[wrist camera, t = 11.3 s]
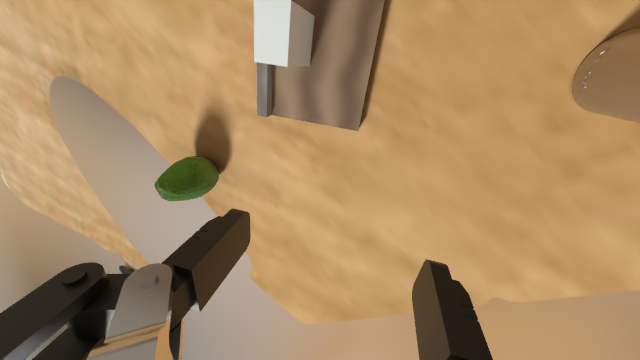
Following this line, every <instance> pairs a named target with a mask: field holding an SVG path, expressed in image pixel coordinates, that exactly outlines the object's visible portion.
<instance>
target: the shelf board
mask: <svg viewBox="0 0 640 360" xmlns="http://www.w3.org/2000/svg"><path fill="white" fill-rule="evenodd" d="M292 1H293V2H295V3H296V4H298V5H299V6H301V7H302V8H303V9H305V10H306V11H308V12H309V13H311V14H312V15H314V16H315V17H314V28H313V38H312V48H311V59H310V66H301V67H284V66H278V65H272V64H265V63H259V62H257V69H256V92H257V115H259V116H264V117H268V116H270V115H275V116H280V117H286V118H291V119H296V120H302V121H307V122H312V123H318V124H323V125H329V126H334V127H339V128H345V129H350V130H355V131H358V130H359V126H360V122H361V117H362V112H363V107H364V102H365V97H366V92H367V87H368V82H369V78H370V73H371V68H372V63H373V58H374V53H375V48H376V43H377V38H378V34H379V29H380V24H381V19H382V14H383V9H384V4H385V0H292Z"/></svg>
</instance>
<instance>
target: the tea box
mask: <svg viewBox="0 0 640 360" xmlns="http://www.w3.org/2000/svg"><path fill="white" fill-rule="evenodd" d="M314 17H315V16H314V15H312V14H311V13H309V12H308V11H306V10H305V9H303V8H302V7H301V6H299V5H298V4H296V3H295V2H293V1H292V0H254V62H259V63H265V64H272V65H278V66H284V67H301V66H310V59H311V48H312V38H313V28H314Z"/></svg>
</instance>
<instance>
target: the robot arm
mask: <svg viewBox="0 0 640 360" xmlns="http://www.w3.org/2000/svg"><path fill="white" fill-rule="evenodd" d="M572 86H573V95H574V98H575V100H576V102H577V103H578V104H579V105H580V106H581V107H583V108H584V109H586V110H588V111H591V112H594V113H598V114H603V115H607V116H611V117H616V118H619V119H624V120H628V121H632V122H637V123H640V28H636V29H632V30H629V31H625V32H623V33H620V34H618V35H616V36H613V37H612V38H610V39H608V40H607V41H605V42H603V43H602V44H601V45H599V46H598V47H597V48H596V49H594V50H593V51H592V52H591V53H590V54H589V55H588V56H587V57H586V58H585V59H584V61H583V62H582V64H581V65H580V67H579V68H578V70H577V72H576V74H575V77H574V81H573V85H572ZM249 242H250V214H249V213H248V212H245V211H242V210H238V209H231V210H230V211H229V212H228V213H227V214H226V215H224V216H223V217H220V216H218V217H216V218H214V219H212V220H210V221H208V222H207V223H206V224H205V225H204V226H202V227H201V228H200V230H199V231H197V232H196V233H195V234H194V235H193V236H192V237H190V238H189V239H188V240H187V241H186V242H185V243H184V244H182V245H181V246H180V247H179V248H178V249H177V250H176V251H175V252H173V253H172V254H171V255H170V256H169V257H168V258H167V259H166V260H165V261H163V262H162V263H161V264H160V263H157V264H150V265H147V266H144V267H142V268H140V269H138V270H136V271H135V272H133V273H132V274H106V273H105V270H104V268H103V266H102V265H100V264H98V263H83V264H79V265H75V266H73V267H70V268H68V269H66V270H64V271H62V272H61V273H59V274H57V275H56V276H54V277H53V278H52V279H50V280H49V281H47V282H45V283H44V284H43V285H41V286H40V287H38V288H37V289H35V290H34V291H32V292H31V293H30V294H28V295H27V296H25V297H24V298H23V299H21V300H19V301H18V302H16V303H15V304H13V305H12V306H10V307H9V308H8V309H6V310H5V311H3V312H2V313H0V360H25V359H26V358H27V357H28V356H29V355H30V354H32V353H33V352H34V351H35V350H36V349H37V348H38V347H40V346H41V345H42V344H43V343H44V342H45V341H46V340H48V339H49V338H50V337H51V336H52V335H53V334H54V333H56V332H57V331H58V330H59V329H60V328H61V327H63V326H64V325H65V324H67V326H68V328H67V329H66V330H65V331H64V332H63V333H61V334H60V335H59V336H58V337H57V338H56V339H55V340H54V341H52V342H51V343H50V344H49V345H48V346H47V347H46V348H45V349H43V350H42V351H41V352H40V353H39V354H38V355H37V356H36V357H35V358H33V359H32V360H182V347H183V332H184V316H185V315H186V314H187V312H188V311H189V310H190V309H192V310H195V311H198V312H200V311H201V310H202V309H203V307H204V306H205V305H206V303H207V302H208V300H209V299H210V298H211V297H212V295H213V294H214V293H215V291H216V290H217V289H218V287H219V286H220V284H221V283H222V282H223V280H224V279H225V278H226V276H227V275H228V274H229V272H230V271H231V269H232V268H233V267H234V266H235V264H236V263H237V261H238V260H239V259H240V257H241V256H242V255H243V253H244V252H245V251H246V249H247V247H248V245H249ZM412 301H413V310H414V318H415V326H416V334H417V342H418V351H419V359H420V360H493V359H492V356H491V354H490V351H489V348H488V346H487V343H486V340H485V337H484V335H483V332H482V329H481V326H480V324H479V322H478V321H477V320H478V318H477V315H476V313H475V311H474V310H473V308H474V307H473V305H472V302H471V299H470V296H469V294H468V293H467V291H466V290H465V289H464V287H463V286H462V285H461V283H460V282H459V281H456V280H452V278H451V275H450V272H449V268H448V266H447V265H446V264H443V263H439V262H435V261H431V260H425V262H424V263H423V266H422V268H421V270H420V272H419V274H418V276H417V278H416V281H415V283H414V285H413V290H412Z"/></svg>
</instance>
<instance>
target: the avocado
mask: <svg viewBox="0 0 640 360" xmlns="http://www.w3.org/2000/svg"><path fill="white" fill-rule="evenodd" d="M218 177H219V175H218V171H217V169H216V167H215V165H214V164H213V163H212V162H211V161H210V160H208V159H206V158H204V157H196V156H193V157H187V158H184V159H182V160H180V161H178V162H176V163H174V164H173V165H172V166H170V167H169V168H168V169H167V170H166V171H165V172H164V173H163V174H162V175H161V176H160V177H159V179H158V180H157V181H156V182H155V188H156V190H157V192H158V194H159V195H160V196H161V198H163V199H165V200H168V201H181V200H190V199H194V198H198V197H201V196H202V195H204V194H206V193H208V192H209V191H210V190H211V189H212V188H213V187H214V186H215V184H216V183H217V181H218Z"/></svg>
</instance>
